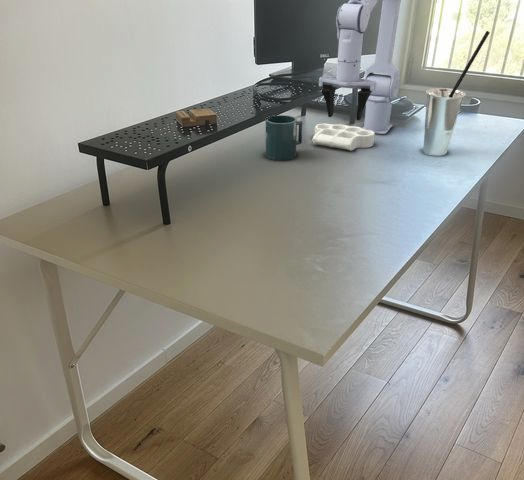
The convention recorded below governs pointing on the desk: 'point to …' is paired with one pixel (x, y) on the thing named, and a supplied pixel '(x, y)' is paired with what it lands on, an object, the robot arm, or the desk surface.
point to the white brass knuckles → (343, 136)
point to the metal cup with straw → (444, 112)
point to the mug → (282, 137)
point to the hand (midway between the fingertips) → (344, 117)
